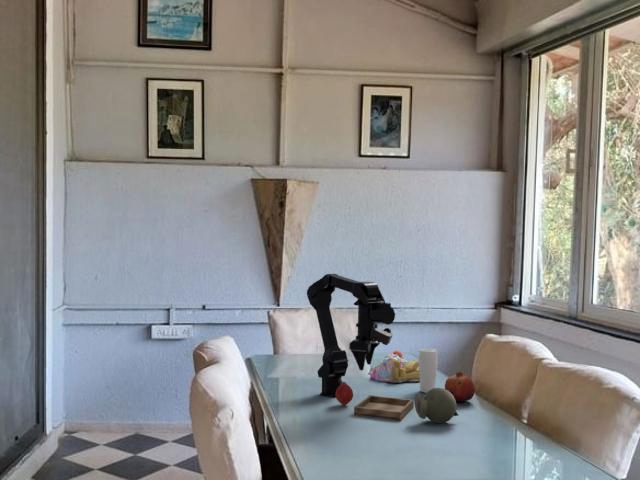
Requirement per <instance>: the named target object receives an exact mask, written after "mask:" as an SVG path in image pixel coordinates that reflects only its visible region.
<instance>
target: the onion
mask: <svg viewBox="0 0 640 480" xmlns="http://www.w3.org/2000/svg"><path fill="white" fill-rule="evenodd" d="M335 395H336V397H335V399H336V400H337V402H338V403H340V404H341V405H342V406H343V407H345V406H347V405H348V404H350V403H351V402H352V400H353V398H354V392H353V389H352V387H351V386H350V385H349V384H348V383H347V382H346V381H343V384H342V385H340V386H339V387H338V388H337V390H336V393H335Z"/></svg>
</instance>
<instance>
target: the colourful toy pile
mask: <svg viewBox="0 0 640 480" xmlns="http://www.w3.org/2000/svg"><path fill="white" fill-rule="evenodd" d="M368 375H370V379H371V380H373V381H374V380H375V382H378V381H379V382H382V383H383V382H387V383H402V382H403V383H405V382H420V377H419V363H418V360H415V359H413V360H412V361H409V362H408V360H407V359H405V358H404V357H403V354H402V352H401V351H400V350H395V351H393V352H392V353H389V354H386V355H385V356H384V358H383V360H382V361H380V362H378V363H377V364H375V366H374V367H373V366H371V368H369V371H368Z"/></svg>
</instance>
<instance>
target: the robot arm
mask: <svg viewBox="0 0 640 480" xmlns="http://www.w3.org/2000/svg"><path fill="white" fill-rule="evenodd" d="M336 289H338V290H342V291H346V292H348V293H350V294H352V296H353V297H354V298H356V301H355V302H353V306H358V307H357V308H358V309H357V323H355V327H357V335H356V336H355V338H354V339H353V340H351V342H349V348H348V349H349V350H350V352H351V353H352V355H353V358H354V360H355V362H356V364H357V367H358V368H359V370H360V371H364V369H365V363H366V364H367V365H369V366H370V365H372V360H373V356H374V353H375V350H376V348H377V347H378V346H380V345H381V344H382V345H384V346H388V344H390V342H391V340H392V338H393V333H392V329H391V328H389V327H385V328H384V329H383V328H379V327H378V326H379V325H378V323H379V324H384V325H389V326H390V325H391V324H393V323H394V321H395V319H396V313H395V309H394V308H393V307H392V306H391V305H392V303H391V302H386V301H385V299H384V296H383V294H382V292H381V289H380V288H379V285H378V283H377V282H375V281H358V280H355V279H351V278H349V277H345V276H342V275H340V274H337V273H326V274H325V275H323V276H322V277H321V278H320V279H318V280H316V281H315V282H313V283H312V284H311V285H309V286H308V288H307V290H306V296H307V299H308V302H309V305H310V306H311V307H312V308H313V309H314V311H315V312H316V313H315V314H316V317H317V321H318V326H319V330H320V333H321V334H320V335H321V339H322V343H323V347H324V351H323V354H322V358H321V359H322V360H321V361H322V365H321V366H320V367H319V369H318V370H317V372H316V373H317V375H318V378H321V392H320V393H319V395H320V396H327V397H334V398H336V395H335V393H336V390H337V388H338V387H339V386H340V385H342V384H343V382H344V381H343V380H342V377H345V376H346V373H347V370H348V368H349V363H348V362H349V359H348V357H347V356H348V354H347V352H346V351H347V350H346V349H345V350H342V349H341V348H340V346H339V343H338V342H339V341H338V339H337V334H336V330H335V326H334V322H333V317H332V313H331V309H330V307H331V303H332V300H333V297H332V294H333V293H335V291H336Z"/></svg>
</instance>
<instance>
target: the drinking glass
mask: <svg viewBox="0 0 640 480" xmlns="http://www.w3.org/2000/svg"><path fill="white" fill-rule="evenodd" d="M417 357H418V360H417V362H418V363H419V367H418V368H419V377H420V381H419V390H420V392H422V393H425V394H426V393H427V392H428V391H429V390H431V389H434V388H436V380H437V379H436V378H437V370H438V349H435V348H427V347H426V348H424V347H423V348H419V349H418V356H417Z"/></svg>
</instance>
